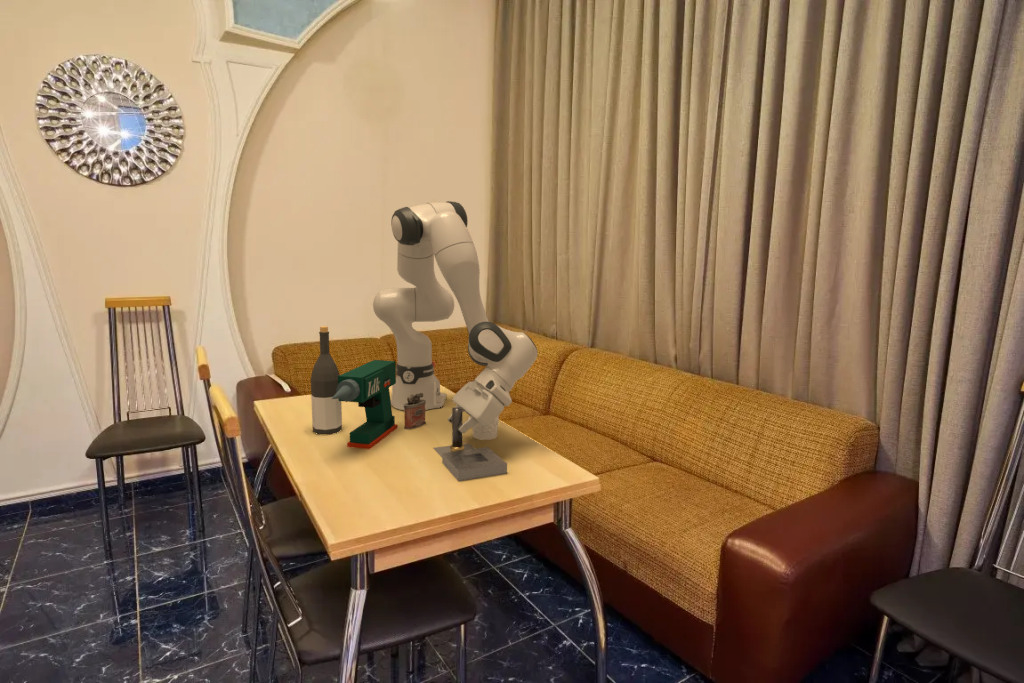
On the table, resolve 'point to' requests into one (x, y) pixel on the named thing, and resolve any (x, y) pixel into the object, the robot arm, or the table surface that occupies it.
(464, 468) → the grey square frame
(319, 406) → the wine bottle
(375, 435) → the power tool
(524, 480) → the table surface
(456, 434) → the dark grey peg
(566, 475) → the table surface
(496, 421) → the white cup
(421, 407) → the lighter
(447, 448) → the grey square plate
